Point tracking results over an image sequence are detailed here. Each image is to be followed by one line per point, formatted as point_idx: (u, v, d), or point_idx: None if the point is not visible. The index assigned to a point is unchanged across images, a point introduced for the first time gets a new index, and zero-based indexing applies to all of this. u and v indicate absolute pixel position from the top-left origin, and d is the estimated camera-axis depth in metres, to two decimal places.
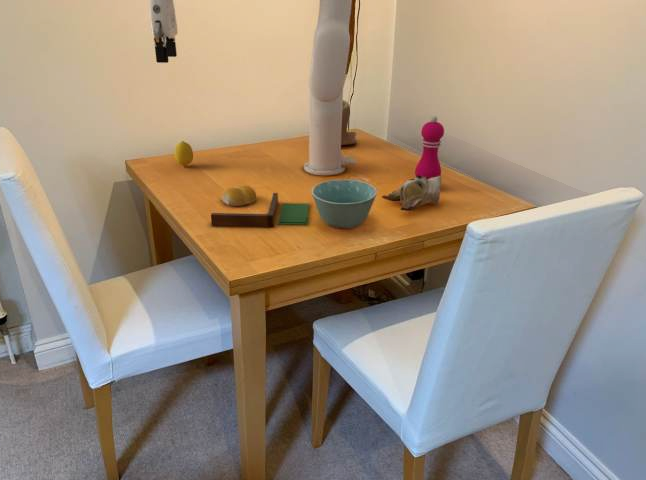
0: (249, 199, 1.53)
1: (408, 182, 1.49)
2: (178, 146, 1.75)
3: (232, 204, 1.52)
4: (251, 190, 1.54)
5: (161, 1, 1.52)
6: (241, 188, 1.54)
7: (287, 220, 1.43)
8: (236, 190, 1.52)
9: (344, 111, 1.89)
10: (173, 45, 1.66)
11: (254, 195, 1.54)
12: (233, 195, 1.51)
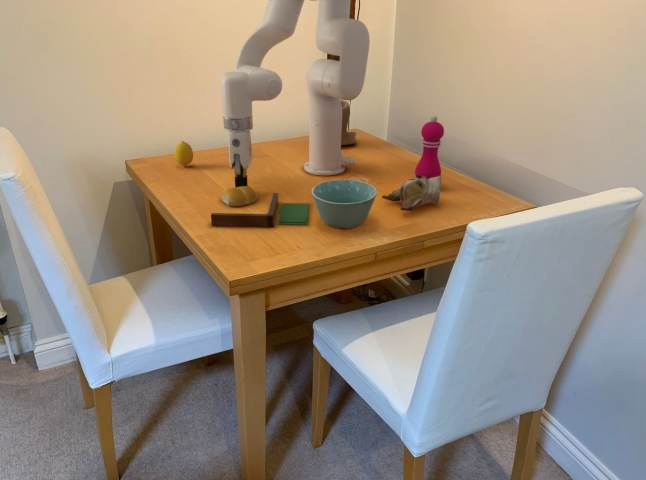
0: (249, 199, 1.53)
1: (408, 182, 1.49)
2: (178, 146, 1.75)
3: (232, 204, 1.52)
4: (251, 190, 1.54)
5: (241, 135, 1.48)
6: (241, 188, 1.54)
7: (287, 220, 1.43)
8: (236, 190, 1.52)
9: (344, 111, 1.89)
10: None
11: (254, 195, 1.54)
12: (233, 195, 1.51)
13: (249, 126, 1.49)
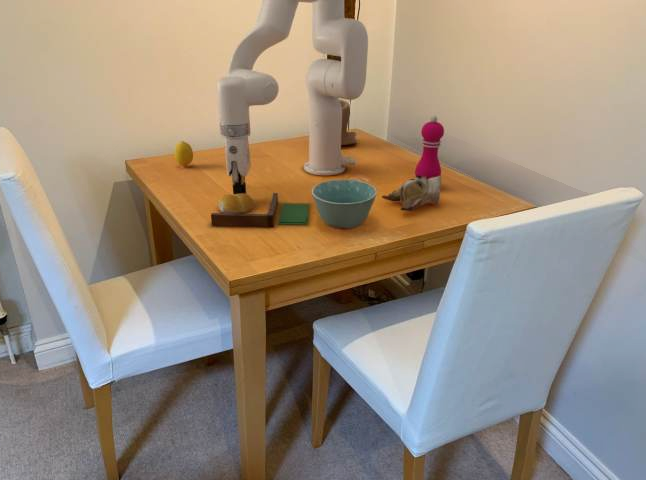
0: (245, 207, 1.48)
1: (408, 182, 1.49)
2: (178, 146, 1.75)
3: (227, 212, 1.48)
4: (247, 198, 1.49)
5: (238, 142, 1.44)
6: (238, 195, 1.50)
7: (287, 220, 1.43)
8: (232, 197, 1.48)
9: (344, 111, 1.89)
10: None
11: (250, 203, 1.49)
12: (228, 202, 1.47)
13: (246, 132, 1.45)
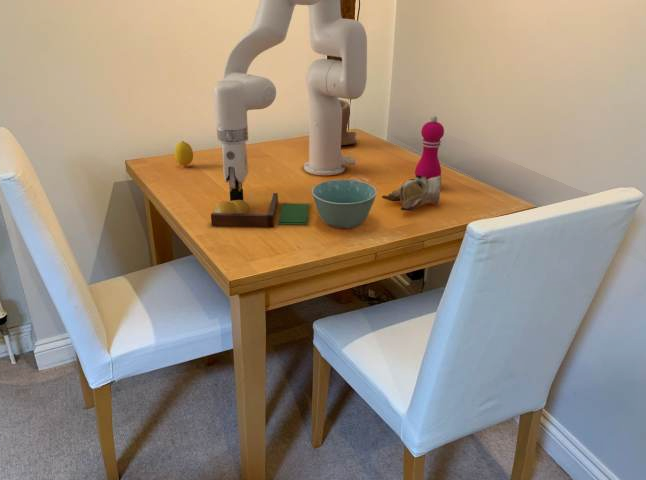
0: None
1: (408, 182, 1.49)
2: (178, 146, 1.75)
3: None
4: (244, 205, 1.45)
5: (236, 147, 1.40)
6: (235, 202, 1.46)
7: (287, 220, 1.43)
8: (228, 204, 1.44)
9: (344, 111, 1.89)
10: None
11: (248, 210, 1.45)
12: (225, 209, 1.43)
13: (244, 138, 1.41)
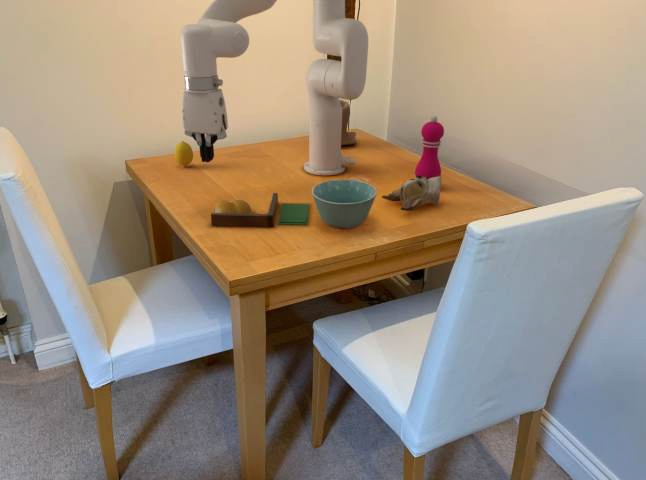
0: None
1: (408, 182, 1.49)
2: (178, 146, 1.75)
3: None
4: (244, 204, 1.45)
5: None
6: (235, 202, 1.46)
7: (287, 220, 1.43)
8: (228, 204, 1.44)
9: (344, 111, 1.89)
10: None
11: (248, 210, 1.45)
12: (225, 209, 1.43)
13: None
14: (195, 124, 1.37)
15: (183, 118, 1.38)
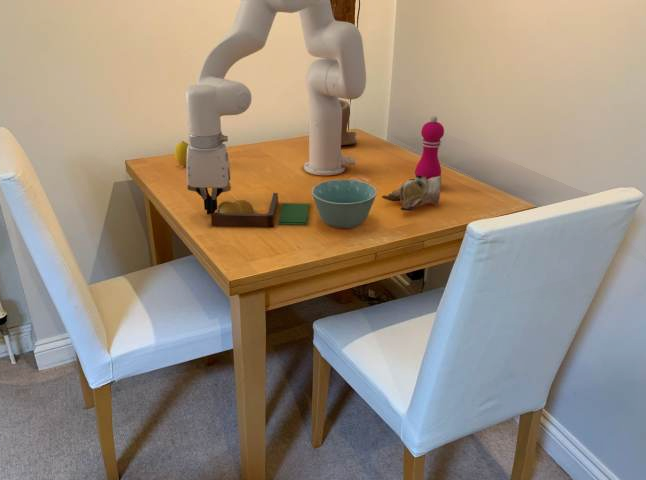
0: None
1: (408, 182, 1.49)
2: (178, 146, 1.75)
3: None
4: (247, 205, 1.45)
5: None
6: (237, 202, 1.45)
7: (287, 220, 1.43)
8: (231, 204, 1.44)
9: (344, 111, 1.89)
10: None
11: (250, 210, 1.45)
12: (228, 209, 1.43)
13: None
14: (201, 180, 1.40)
15: (188, 175, 1.40)
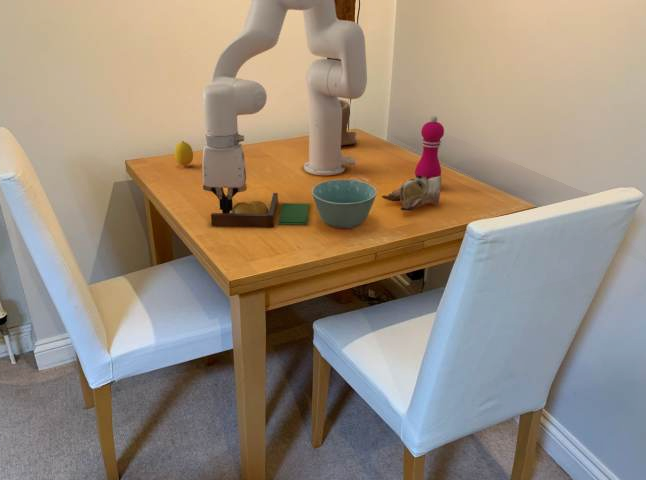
0: None
1: (408, 182, 1.49)
2: (178, 146, 1.75)
3: None
4: (262, 205, 1.44)
5: None
6: (252, 203, 1.45)
7: (287, 220, 1.43)
8: (246, 205, 1.43)
9: (344, 111, 1.89)
10: None
11: (265, 211, 1.44)
12: (243, 210, 1.42)
13: None
14: (217, 179, 1.40)
15: (204, 174, 1.39)
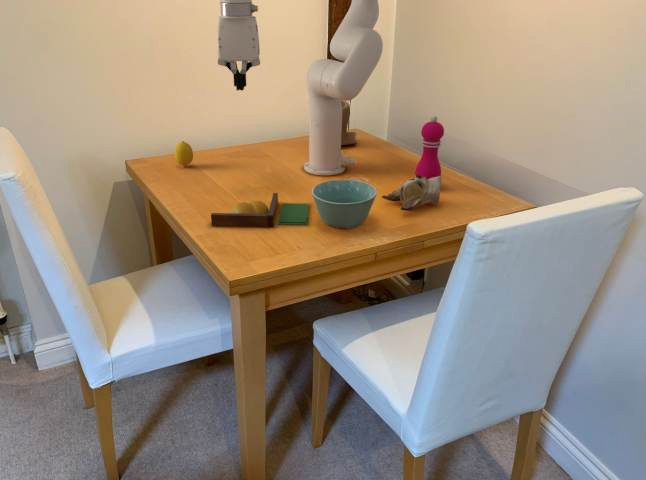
0: None
1: (408, 182, 1.49)
2: (178, 146, 1.75)
3: None
4: (262, 205, 1.44)
5: None
6: (253, 203, 1.45)
7: (287, 220, 1.43)
8: (246, 205, 1.43)
9: (344, 111, 1.89)
10: None
11: (265, 211, 1.44)
12: (243, 210, 1.42)
13: None
14: (232, 52, 1.43)
15: (219, 47, 1.43)
